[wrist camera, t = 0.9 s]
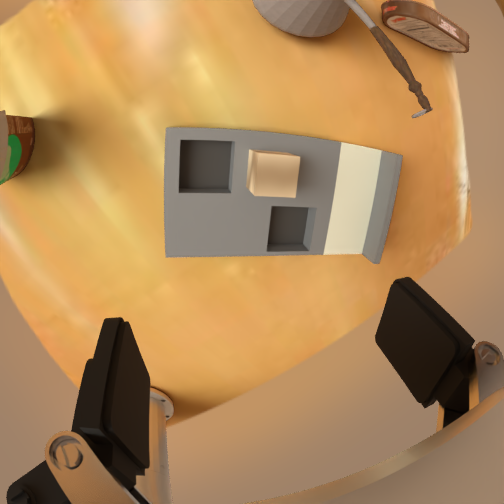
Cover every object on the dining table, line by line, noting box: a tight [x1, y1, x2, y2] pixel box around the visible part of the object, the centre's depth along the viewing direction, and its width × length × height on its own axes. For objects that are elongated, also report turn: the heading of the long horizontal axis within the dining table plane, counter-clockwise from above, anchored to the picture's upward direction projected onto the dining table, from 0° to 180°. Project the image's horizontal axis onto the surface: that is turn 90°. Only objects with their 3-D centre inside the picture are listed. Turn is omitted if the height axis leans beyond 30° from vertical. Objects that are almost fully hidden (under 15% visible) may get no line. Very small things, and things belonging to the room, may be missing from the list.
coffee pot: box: [252, 0, 433, 118], centre depth 19 cm, size 21×12×15 cm, turn 25°
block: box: [246, 149, 300, 198], centre depth 27 cm, size 4×4×4 cm
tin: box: [381, 0, 469, 53], centre depth 23 cm, size 15×3×8 cm, turn 88°
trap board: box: [164, 128, 403, 264], centre depth 31 cm, size 14×26×6 cm, turn 85°
